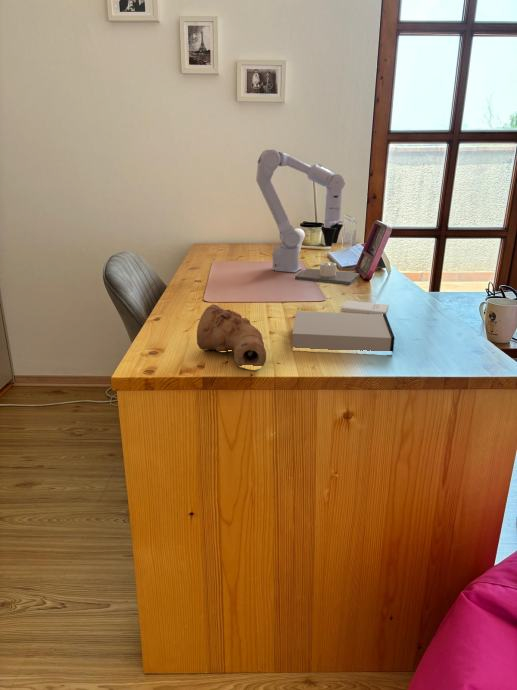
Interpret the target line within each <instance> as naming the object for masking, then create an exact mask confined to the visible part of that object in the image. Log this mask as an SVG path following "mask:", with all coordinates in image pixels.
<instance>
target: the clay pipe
mask: <svg viewBox="0 0 517 690" xmlns="http://www.w3.org/2000/svg"><path fill="white" fill-rule="evenodd" d="M196 343H197V346H198V348H200V350H201V349H213V350H216V352H217V351H228V350H232V352H233V358H234V361H235V364H236V365H237V366H238V367H239V366H242V365H253V366H263V367H264V365H265V364H266V361H267V350H266V348H265V344H264V340H263V335H262V333H261V332H260V330H259V329H258V328H257V327H255V326H254V325H252V324H251V321H250V319H248V318H247V317H242V315H241V314H240V313H239V312H236V311H234V310H231V309H223V308H222V307H220V306H218V305H216V304H213V303H212V304H211V305H209V306H207V307H206V308H205V309H204V311H203V312H202V314H201V316H200V318H199V322H198V324H197V329H196Z"/></svg>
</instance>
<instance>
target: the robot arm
mask: <svg viewBox="0 0 517 690" xmlns="http://www.w3.org/2000/svg"><path fill="white" fill-rule="evenodd" d="M278 167H290V168H291V169H293V170H296V171H299V172H301V173H304V174H305V175H306V176H307V178H308V180H310V181H312V182H313V183H316V184H318V185H320V186H322V187H325V188H326V195H325V209H324V226H321V227H320V231H322V234H323V239H324V245H325V247H327V248H328V247H329V248H330V247H332V245H333V244H337V242H338V240H339V236H340V233H341V230H342V228H343V226H344V220H343V219H341V214H342V213H341V212H342V201H343V200H342V198H343V195H342V192H343V190H342V189H344V187H345V185H346V182H345V181H344V180H345V179H344V177H343V176H342V175H341V174H338V173H335V170H332V169H330V170H329V169H327V168H325V167H323V165H322V164H321V163H318V164H317V163H314V164H312V165H310V164H308V163H305V162H304V161H302V160H300V159H298V158H296V157H294V156H292V155H291V154H288V153H284V152H281V151H278V150H276V149H265V150H263V151H262V152H261V153H260V156H259V157H258V160H257V168H256V169H257V170H256V179H255V180H256V181H255V182H256V183H257V185H258V187H259V190H260V191H261V194H262V196H263V198H264V200H265V203H266V204H267V207H268V208H269V211H270V213H271V215H272V217H273V220H274V221H275V223H276V226H277V229H278V231H279V239H280V241H281V243H280V244H279V245H276V246H275V247H274V248H273V252H272V268H271V270H272V271H274V270H275V271H276V272H287V273H296V272H299V271H300V270H302V267H301V266H299V261H300V260H299V258H300V257H299V254H300V252H299V245H298V244H299V242H300V235H299V233H298V232H296V231H295V230H294V229H295V228H294V226H293V225H292V223H291V221H290V219H289V217H288V215H287V213H286V210H285V208H284V206H283V204H282V202H281V199H280V197H279V196H278V195H279V194H278V193H277V192H276V189H275V187H274V185H273V183H272V177H273V176H274V172H275V171H276V170H277V168H278Z"/></svg>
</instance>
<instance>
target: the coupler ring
mask: <svg viewBox="0 0 517 690" xmlns="http://www.w3.org/2000/svg"><path fill="white" fill-rule="evenodd" d="M327 263H330V264H331V265H326V264H327ZM319 270H320V275H321V276H326V277H332V276H335V275H336V271H337V263H336V262H331V261H325V262H320V264H319Z"/></svg>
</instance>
